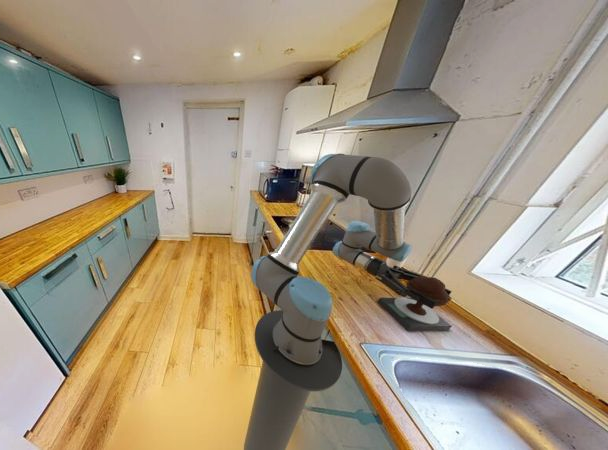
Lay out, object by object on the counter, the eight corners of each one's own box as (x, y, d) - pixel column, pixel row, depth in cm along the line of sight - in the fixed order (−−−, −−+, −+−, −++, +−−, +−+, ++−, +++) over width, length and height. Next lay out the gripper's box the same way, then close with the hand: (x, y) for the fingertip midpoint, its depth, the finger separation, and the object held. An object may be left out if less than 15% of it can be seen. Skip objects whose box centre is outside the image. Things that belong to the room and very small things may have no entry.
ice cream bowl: (446, 324, 68) (471, 290, 62) (409, 318, 70) (430, 285, 63) (421, 301, 77) (441, 270, 71) (390, 296, 79) (406, 266, 73)
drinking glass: (385, 268, 102) (397, 242, 96) (401, 276, 96) (415, 249, 90) (377, 270, 100) (389, 245, 94) (392, 279, 94) (406, 252, 88)
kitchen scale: (407, 330, 69) (411, 324, 67) (377, 302, 80) (380, 296, 79) (448, 330, 69) (453, 324, 68) (412, 302, 81) (415, 296, 80)
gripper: (382, 265, 91) (450, 297, 73) (351, 278, 82) (420, 319, 64) (389, 251, 88) (461, 281, 70) (357, 263, 79) (432, 302, 61)
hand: (442, 299), depth 67 cm, fingers closed on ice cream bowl, 11 cm apart
